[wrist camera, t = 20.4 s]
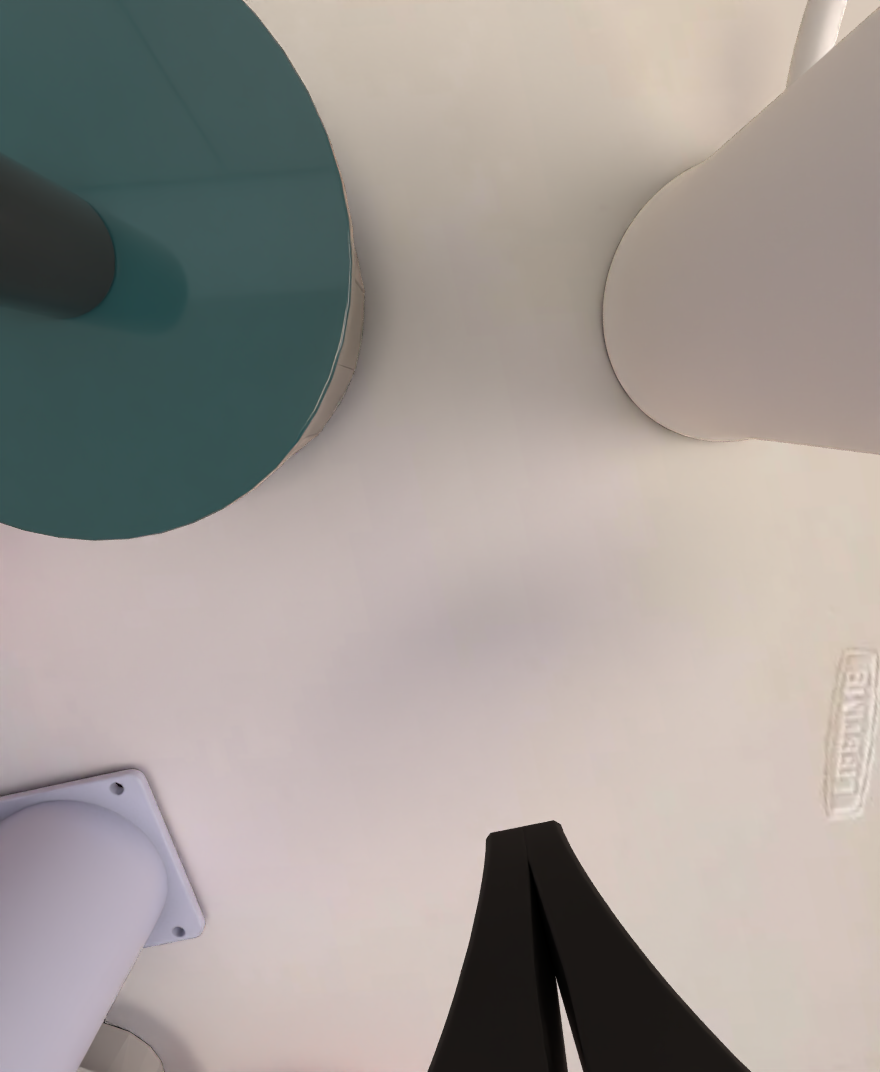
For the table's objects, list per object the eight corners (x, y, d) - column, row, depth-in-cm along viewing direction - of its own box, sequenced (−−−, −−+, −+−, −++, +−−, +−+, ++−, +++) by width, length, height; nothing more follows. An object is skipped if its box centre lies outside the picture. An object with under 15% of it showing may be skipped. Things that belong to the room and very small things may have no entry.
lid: (131, 623, 15) (-4, 723, 11) (-298, 257, 13) (-709, 178, 8) (471, 276, 13) (489, 209, 9) (31, -228, 11) (-271, -692, 6)
